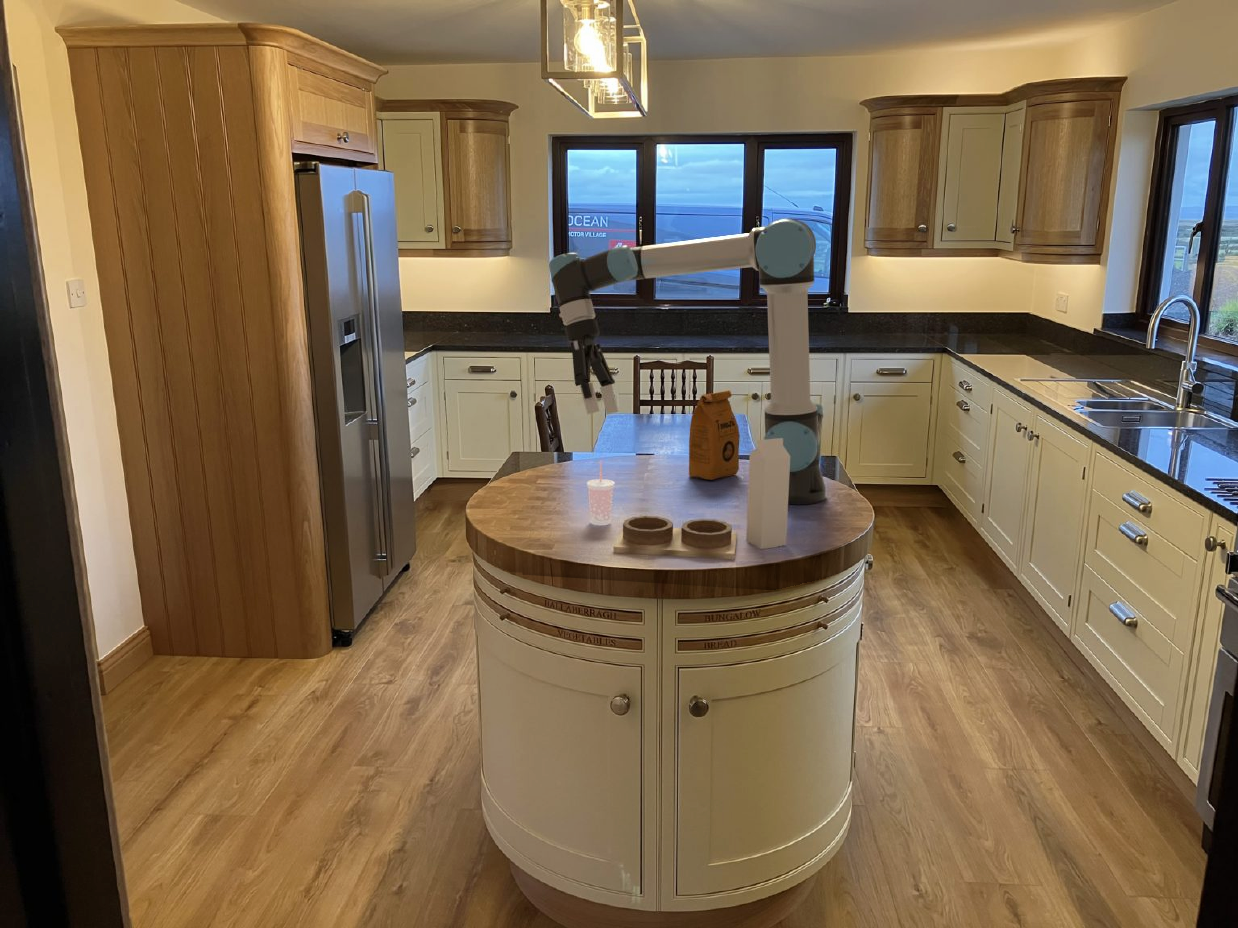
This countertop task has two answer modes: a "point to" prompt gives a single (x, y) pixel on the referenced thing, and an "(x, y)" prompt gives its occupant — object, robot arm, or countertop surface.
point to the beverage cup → (600, 499)
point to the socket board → (677, 538)
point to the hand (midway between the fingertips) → (603, 413)
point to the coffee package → (713, 438)
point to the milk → (768, 494)
